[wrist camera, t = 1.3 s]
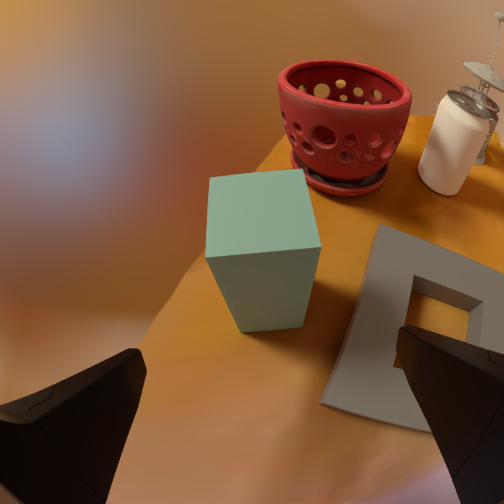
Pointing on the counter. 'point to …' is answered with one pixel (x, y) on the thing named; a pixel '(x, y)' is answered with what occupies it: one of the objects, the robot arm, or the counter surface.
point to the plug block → (263, 247)
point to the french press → (493, 80)
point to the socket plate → (393, 317)
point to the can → (453, 142)
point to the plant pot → (343, 124)
